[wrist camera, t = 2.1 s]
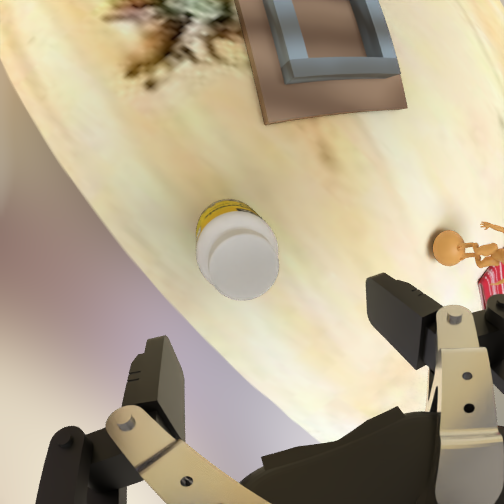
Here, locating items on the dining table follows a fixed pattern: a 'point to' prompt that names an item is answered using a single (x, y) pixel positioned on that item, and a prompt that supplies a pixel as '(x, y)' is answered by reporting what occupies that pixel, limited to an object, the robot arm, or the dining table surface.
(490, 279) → the dish towel
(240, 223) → the supplement bottle
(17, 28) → the dining table surface
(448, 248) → the figurine
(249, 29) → the cradle board
